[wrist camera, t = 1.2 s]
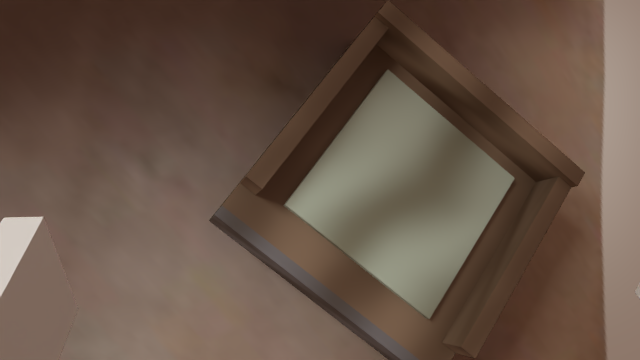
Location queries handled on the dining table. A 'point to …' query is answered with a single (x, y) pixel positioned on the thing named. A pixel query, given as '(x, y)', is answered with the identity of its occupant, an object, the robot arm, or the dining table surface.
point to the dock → (402, 196)
